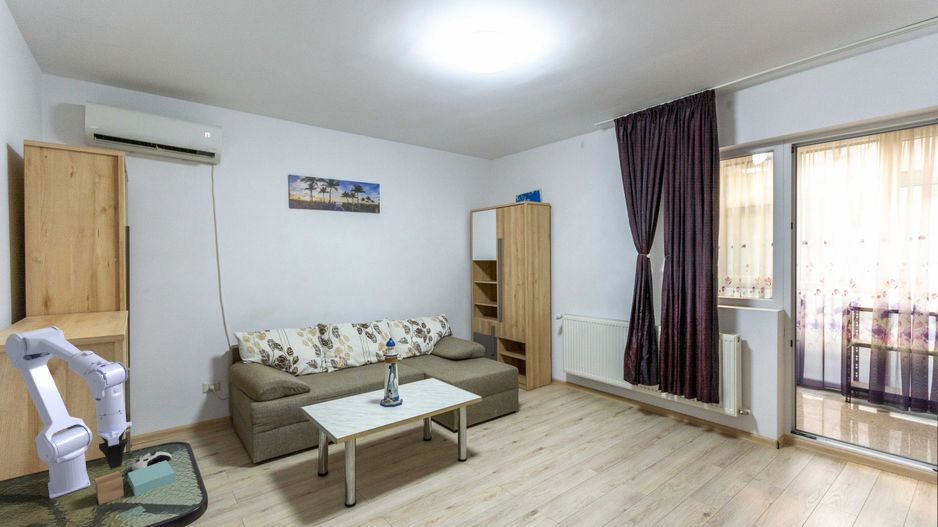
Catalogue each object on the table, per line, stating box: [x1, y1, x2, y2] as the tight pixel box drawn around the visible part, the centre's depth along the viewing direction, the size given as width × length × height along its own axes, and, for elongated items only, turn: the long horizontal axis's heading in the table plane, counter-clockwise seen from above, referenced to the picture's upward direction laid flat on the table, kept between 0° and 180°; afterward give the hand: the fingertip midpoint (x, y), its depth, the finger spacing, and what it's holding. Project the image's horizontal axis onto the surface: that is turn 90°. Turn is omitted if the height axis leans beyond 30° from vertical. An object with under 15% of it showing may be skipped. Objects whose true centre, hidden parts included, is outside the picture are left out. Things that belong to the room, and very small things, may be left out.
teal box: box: [127, 460, 176, 497], centre depth 121 cm, size 9×9×3 cm
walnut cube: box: [94, 470, 125, 506], centre depth 114 cm, size 5×5×5 cm
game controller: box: [131, 451, 172, 471], centre depth 128 cm, size 10×5×6 cm
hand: (115, 461), depth 113 cm, fingers open, 7 cm apart
